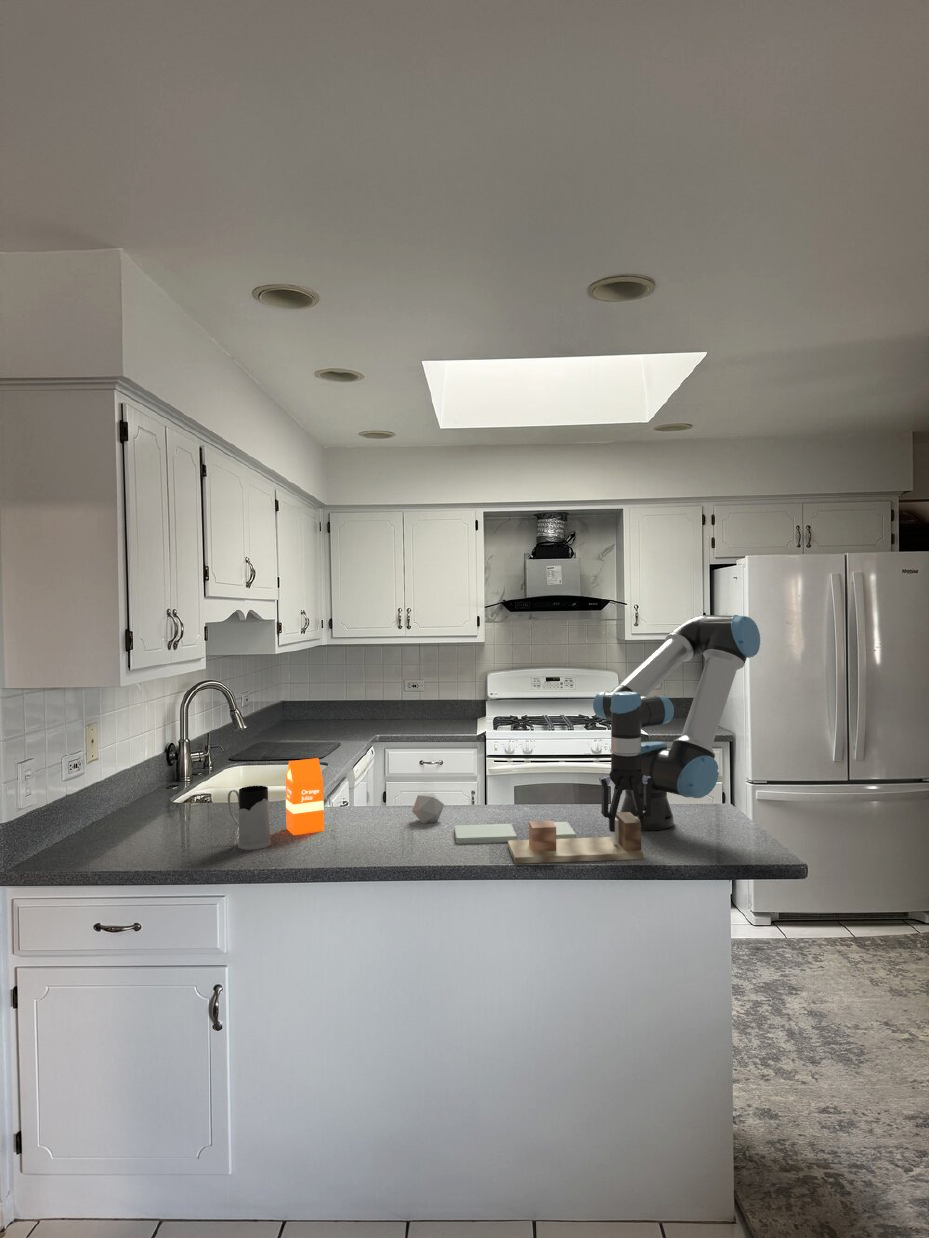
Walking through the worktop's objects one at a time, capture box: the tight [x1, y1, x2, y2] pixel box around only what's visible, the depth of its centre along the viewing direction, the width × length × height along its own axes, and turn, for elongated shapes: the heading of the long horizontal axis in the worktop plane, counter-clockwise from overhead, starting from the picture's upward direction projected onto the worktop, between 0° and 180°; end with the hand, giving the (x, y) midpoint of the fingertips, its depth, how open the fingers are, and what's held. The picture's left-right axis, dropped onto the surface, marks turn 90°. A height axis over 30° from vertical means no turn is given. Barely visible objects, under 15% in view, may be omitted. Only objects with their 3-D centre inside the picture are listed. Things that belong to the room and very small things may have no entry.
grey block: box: [411, 792, 445, 824], centre depth 239 cm, size 8×9×10 cm
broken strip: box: [453, 821, 577, 845], centre depth 224 cm, size 32×12×2 cm, turn 94°
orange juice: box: [285, 757, 325, 836], centre depth 231 cm, size 8×9×20 cm
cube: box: [528, 820, 556, 852], centre depth 207 cm, size 6×6×6 cm
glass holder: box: [227, 785, 272, 851], centre depth 220 cm, size 9×14×15 cm, turn 57°
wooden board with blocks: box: [507, 811, 645, 865], centre depth 208 cm, size 32×14×8 cm, turn 94°
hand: (626, 843), depth 209 cm, fingers closed on wooden board with blocks, 5 cm apart
